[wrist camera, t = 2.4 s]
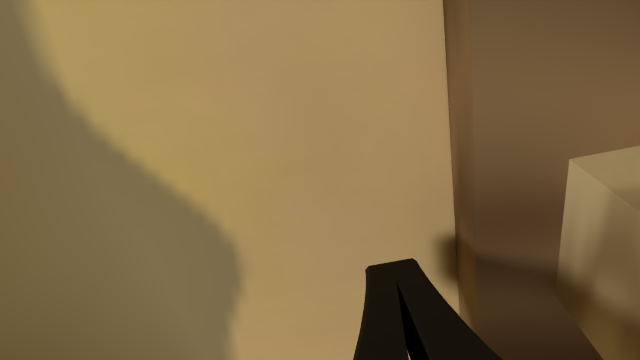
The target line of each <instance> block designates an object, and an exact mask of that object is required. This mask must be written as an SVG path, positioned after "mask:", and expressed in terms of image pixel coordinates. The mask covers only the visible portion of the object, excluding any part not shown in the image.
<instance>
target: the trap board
mask: <svg viewBox="0 0 640 360" xmlns="http://www.w3.org/2000/svg"><path fill="white" fill-rule="evenodd" d="M443 10H444V28H445V47H446V65H447V84H448V102H449V121H450V140H451V158H452V177H453V195H454V214H455V232H456V251H457V269H458V288H459V306H460V318H461V319H462V320H463V321H464V322H465V323H466V324H467V325H468V326H469V327H470V328H471V329H472V330H473V331H474V332H475V333H476V334H477V335H478V336H479V337H480V338H481V339H482V340H483V341H484V342H485V343H486V344H487V345H488V346H489V347H490V348H491V349H492V350H493V351H494V352H495V353H496V354H497V355H498V356H499V357H501V358H502V359H503V360H603V358H602V357H601V356H600V354H599V353H598V352H597V350H596V349H595V348H594V346H593V345H592V344H591V342H590V341H589V340H588V338H587V337H586V336H585V334H584V333H583V332H582V330H581V329H580V328H579V326H578V325H577V323H576V322H575V321H574V319H573V318H572V317H571V315H570V314H569V313H568V311H567V310H566V309H565V307H564V306H563V305H562V303H561V302H560V301H559V299H558V298H557V297H556V295H555V289H556V280H557V270H558V261H559V252H560V242H561V233H562V224H563V214H564V205H565V196H566V186H567V177H568V168H569V159H573V158H578V157H583V156H589V155H594V154H599V153H604V152H609V151H615V150H620V149H625V148H630V147H635V146H640V0H443Z"/></svg>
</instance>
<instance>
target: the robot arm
mask: <svg viewBox="0 0 640 360" xmlns="http://www.w3.org/2000/svg"><path fill="white" fill-rule="evenodd" d="M365 271H366V294H365V303H364V310H363V316H362V322H361V328H360V333H359V337H358V342H357V346H356V350H355V354H354V358H353V360H409V358H408V353H409V356H410V359H411V360H503V359H502V358H501V357H499V356H498V355H497V354H496V353H495V352H494V351H493V350H492V349H491V348H490V347H489V346H488V345H487V344H486V343H485V342H484V341H483V340H482V339H481V338H480V337H479V336H478V335H477V334H476V333H475V332H474V331H473V330H472V329H471V328H470V327H469V326H468V325H467V324H466V323H465V322H464V321H463V320H462V319H461V318H460V316H459V315H458V314H457V313H456V312H455V311H454V310H453V308H452V307H451V306H450V305H449V304H448V303H447V302H446V301H445V299H444V298H443V297H442V296H441V295H440V293H439V292H438V291H437V290H436V288H435V287H434V286H433V284H432V283H431V282H430V280H429V279H428V278H427V276H426V275H425V274H424V272H423V271H422V269H421V268H420V266H419V264H418V263H417V261H416V260H414V259H412V258H411V259H405V260H400V261H394V262H389V263H383V264H377V265H372V266H368V267H367V269H366V270H365ZM407 350H408V352H407Z"/></svg>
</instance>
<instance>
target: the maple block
mask: <svg viewBox="0 0 640 360" xmlns="http://www.w3.org/2000/svg"><path fill="white" fill-rule="evenodd" d="M555 295H556V297H557V298H558V299H559V301H560V302H561V303H562V305H563V306H564V307H565V309H566V310H567V311H568V313H569V314H570V315H571V317H572V318H573V319H574V321H575V322H576V323H577V325H578V326H579V328H580V329H581V330H582V332H583V333H584V334H585V336H586V337H587V338H588V340H589V341H590V342H591V344H592V345H593V346H594V348H595V349H596V350H597V352H598V353H599V354H600V356H601V357H602V358H603V360H640V146H635V147H630V148H625V149H620V150H615V151H609V152H604V153H599V154H594V155H589V156H583V157H578V158H573V159H569V168H568V177H567V186H566V196H565V205H564V214H563V224H562V233H561V242H560V252H559V261H558V270H557V280H556V289H555Z"/></svg>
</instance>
